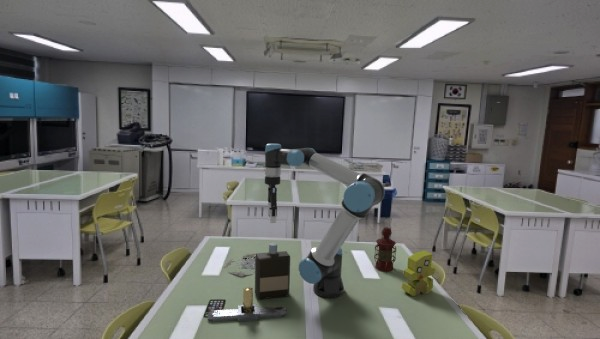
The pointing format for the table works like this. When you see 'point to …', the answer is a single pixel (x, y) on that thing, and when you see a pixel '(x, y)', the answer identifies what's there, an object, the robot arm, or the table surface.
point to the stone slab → (244, 264)
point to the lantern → (385, 251)
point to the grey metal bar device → (246, 314)
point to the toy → (419, 273)
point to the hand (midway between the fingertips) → (271, 218)
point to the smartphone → (214, 306)
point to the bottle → (272, 273)
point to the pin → (248, 300)
